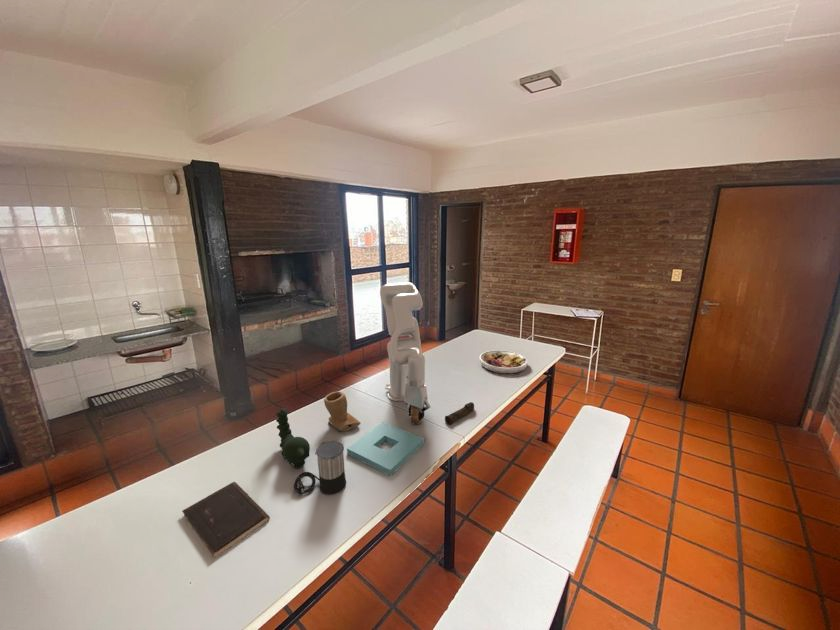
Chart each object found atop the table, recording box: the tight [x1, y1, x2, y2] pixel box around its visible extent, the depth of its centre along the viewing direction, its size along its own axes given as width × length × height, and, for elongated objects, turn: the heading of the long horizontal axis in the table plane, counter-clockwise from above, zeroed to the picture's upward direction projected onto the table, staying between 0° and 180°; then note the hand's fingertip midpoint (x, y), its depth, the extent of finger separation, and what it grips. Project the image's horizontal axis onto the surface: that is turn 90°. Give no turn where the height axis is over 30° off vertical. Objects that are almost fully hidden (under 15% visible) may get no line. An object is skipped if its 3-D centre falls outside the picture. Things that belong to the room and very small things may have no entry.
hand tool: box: [444, 401, 475, 425], centre depth 157 cm, size 19×4×5 cm, turn 129°
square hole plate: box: [346, 421, 425, 477], centre depth 135 cm, size 22×22×2 cm
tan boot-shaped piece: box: [323, 391, 361, 432], centre depth 150 cm, size 15×12×15 cm
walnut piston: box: [410, 405, 423, 425], centre depth 152 cm, size 5×5×8 cm
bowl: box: [479, 349, 528, 374], centre depth 215 cm, size 30×30×8 cm
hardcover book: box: [181, 481, 271, 558], centre depth 103 cm, size 16×23×2 cm
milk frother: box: [293, 440, 347, 496], centre depth 114 cm, size 14×16×15 cm
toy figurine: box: [275, 408, 311, 469], centre depth 128 cm, size 9×19×25 cm
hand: (416, 416), depth 152 cm, fingers closed on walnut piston, 5 cm apart
